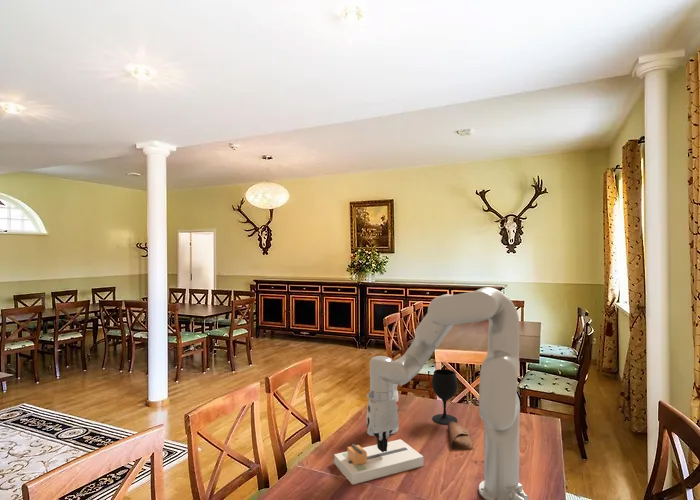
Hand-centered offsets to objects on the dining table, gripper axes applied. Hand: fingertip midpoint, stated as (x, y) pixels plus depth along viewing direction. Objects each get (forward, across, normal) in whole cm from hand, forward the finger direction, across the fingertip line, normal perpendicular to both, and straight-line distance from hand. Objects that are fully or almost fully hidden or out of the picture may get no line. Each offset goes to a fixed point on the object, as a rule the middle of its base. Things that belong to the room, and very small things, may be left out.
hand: (382, 450), depth 137 cm
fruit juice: (+5, +15, +22) cm, 27 cm away
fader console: (+5, -1, 0) cm, 5 cm away
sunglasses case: (+6, +36, +4) cm, 37 cm away
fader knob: (+1, -9, 0) cm, 9 cm away
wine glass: (+5, +42, +20) cm, 47 cm away
